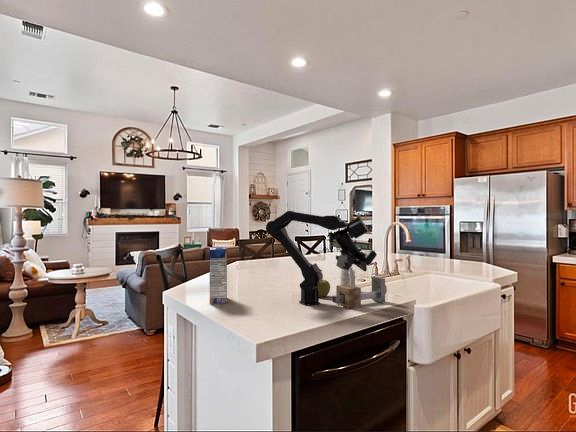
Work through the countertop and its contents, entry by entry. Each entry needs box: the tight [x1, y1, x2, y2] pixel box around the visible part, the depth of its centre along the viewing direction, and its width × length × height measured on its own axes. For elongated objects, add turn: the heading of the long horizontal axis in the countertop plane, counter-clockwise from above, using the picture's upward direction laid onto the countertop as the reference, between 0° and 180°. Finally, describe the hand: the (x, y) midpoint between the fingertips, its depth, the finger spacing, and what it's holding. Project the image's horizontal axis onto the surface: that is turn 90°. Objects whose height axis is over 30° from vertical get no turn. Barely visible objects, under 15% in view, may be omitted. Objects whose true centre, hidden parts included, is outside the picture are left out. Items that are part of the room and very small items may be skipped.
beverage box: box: [209, 246, 228, 305], centre depth 150 cm, size 7×11×22 cm, turn 11°
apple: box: [317, 279, 331, 298], centre depth 157 cm, size 8×8×7 cm
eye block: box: [335, 284, 362, 309], centre depth 141 cm, size 6×8×8 cm
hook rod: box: [331, 275, 388, 304], centre depth 143 cm, size 24×6×10 cm, turn 116°
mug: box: [340, 266, 356, 286], centre depth 168 cm, size 8×12×12 cm, turn 5°
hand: (365, 270), depth 146 cm, fingers closed
